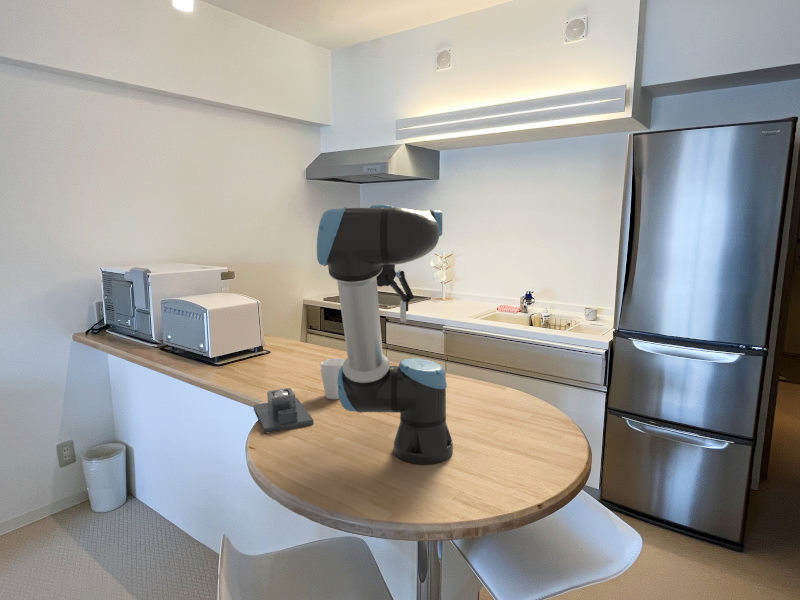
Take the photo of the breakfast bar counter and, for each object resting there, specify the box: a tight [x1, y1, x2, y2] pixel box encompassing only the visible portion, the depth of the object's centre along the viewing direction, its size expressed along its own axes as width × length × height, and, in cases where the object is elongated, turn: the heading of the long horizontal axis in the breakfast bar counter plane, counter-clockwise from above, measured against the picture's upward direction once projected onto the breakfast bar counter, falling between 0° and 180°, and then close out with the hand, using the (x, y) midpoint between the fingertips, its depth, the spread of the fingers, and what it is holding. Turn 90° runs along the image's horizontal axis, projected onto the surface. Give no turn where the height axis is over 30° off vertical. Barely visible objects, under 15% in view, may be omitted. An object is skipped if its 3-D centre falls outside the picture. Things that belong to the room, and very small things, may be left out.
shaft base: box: [253, 391, 314, 434], centre depth 147 cm, size 20×14×8 cm
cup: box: [320, 358, 346, 400], centre depth 164 cm, size 9×9×12 cm
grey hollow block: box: [266, 387, 296, 418], centre depth 147 cm, size 7×7×6 cm
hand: (383, 323), depth 152 cm, fingers open, 13 cm apart
